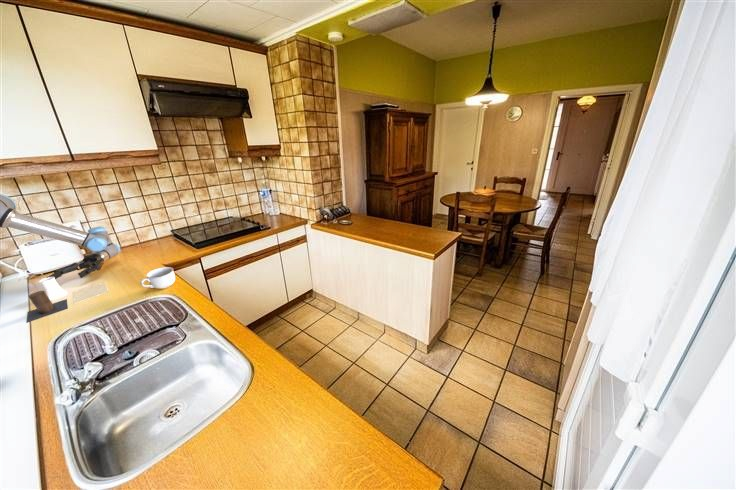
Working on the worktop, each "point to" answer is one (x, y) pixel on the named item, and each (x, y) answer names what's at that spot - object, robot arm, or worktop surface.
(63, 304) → the slate mat
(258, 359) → the worktop surface
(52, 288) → the vase
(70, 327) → the worktop surface
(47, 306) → the pepper shaker
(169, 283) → the teacup
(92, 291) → the cream mat
